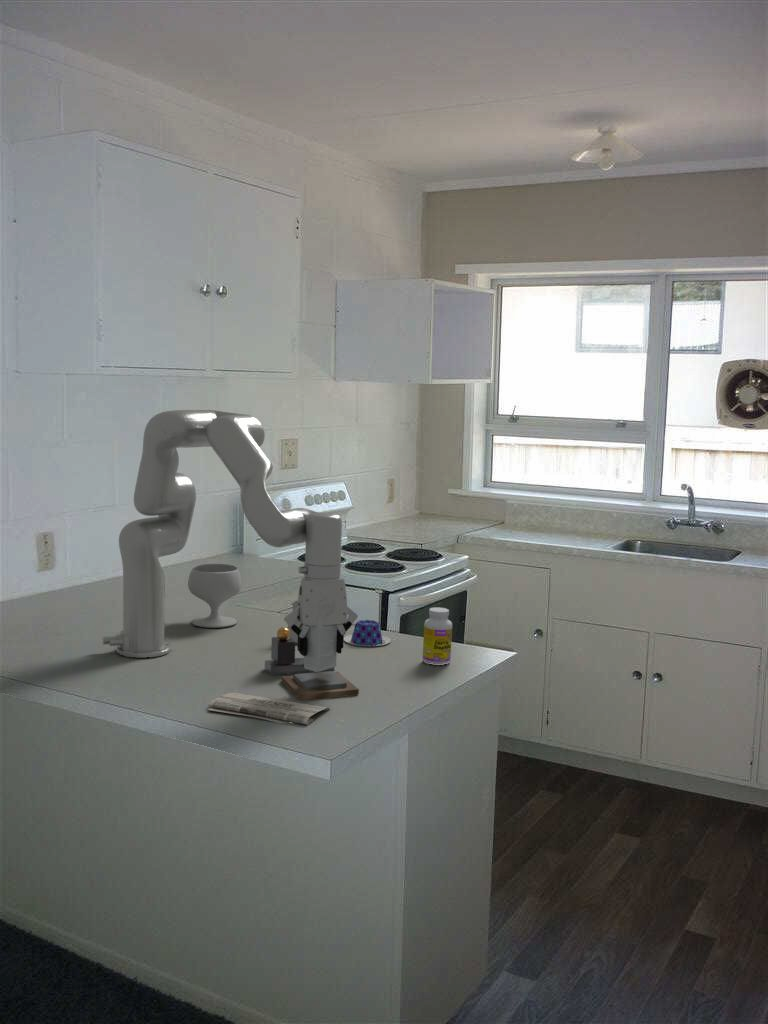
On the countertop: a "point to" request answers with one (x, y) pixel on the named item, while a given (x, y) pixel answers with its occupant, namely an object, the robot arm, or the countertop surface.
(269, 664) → the rail
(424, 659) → the supplement bottle
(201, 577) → the chalice
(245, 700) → the newspaper
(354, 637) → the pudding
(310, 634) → the skincare box
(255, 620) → the countertop surface
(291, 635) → the flask
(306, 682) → the tray
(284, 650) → the handle
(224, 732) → the countertop surface
